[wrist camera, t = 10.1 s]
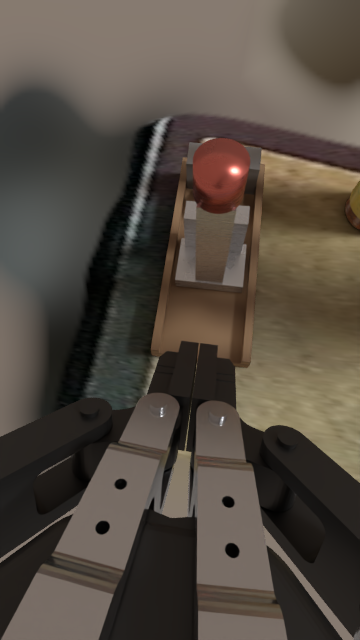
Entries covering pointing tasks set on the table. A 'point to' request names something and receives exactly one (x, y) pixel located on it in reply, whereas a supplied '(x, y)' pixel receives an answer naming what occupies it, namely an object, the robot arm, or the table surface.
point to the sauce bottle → (354, 207)
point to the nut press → (203, 304)
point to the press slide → (215, 219)
